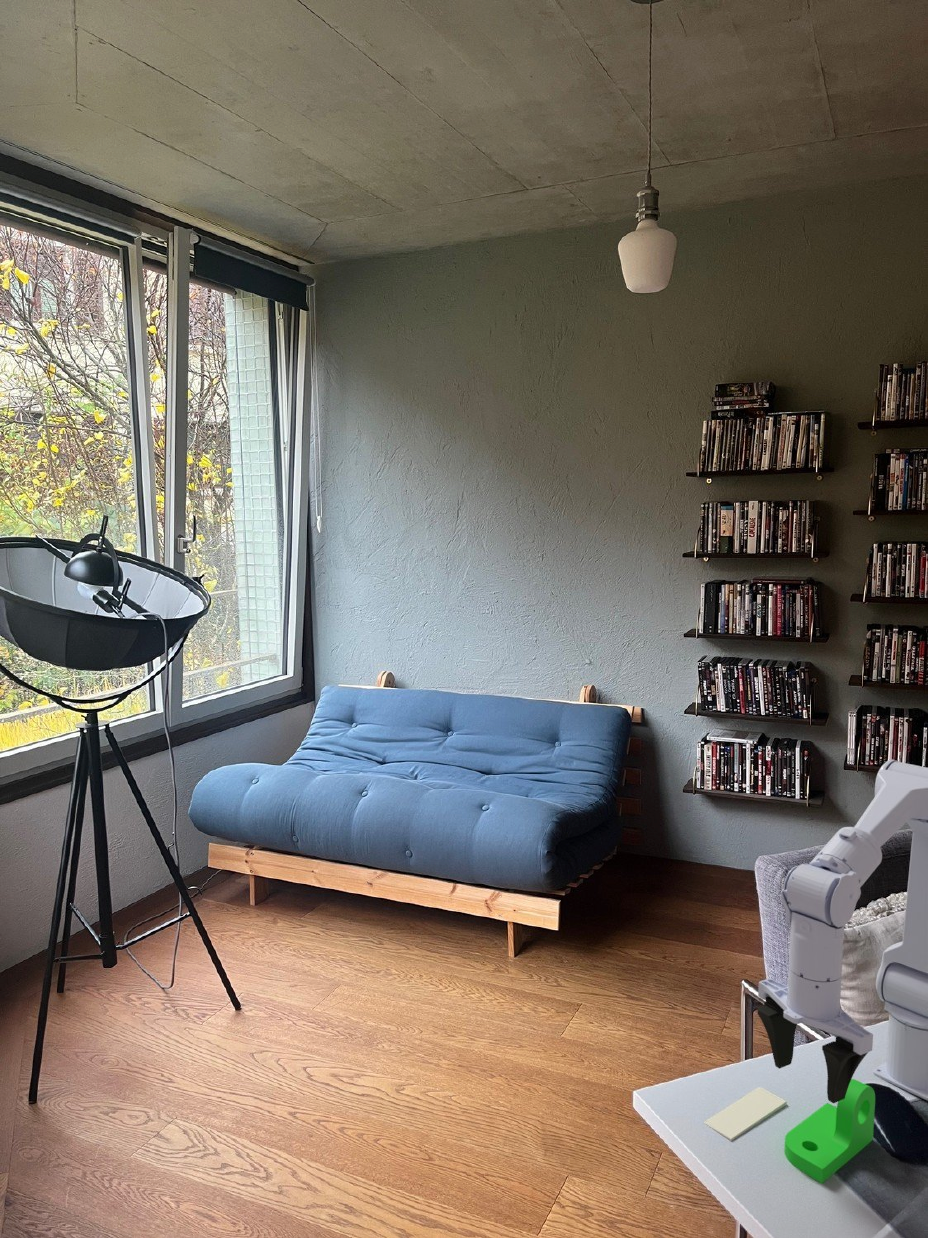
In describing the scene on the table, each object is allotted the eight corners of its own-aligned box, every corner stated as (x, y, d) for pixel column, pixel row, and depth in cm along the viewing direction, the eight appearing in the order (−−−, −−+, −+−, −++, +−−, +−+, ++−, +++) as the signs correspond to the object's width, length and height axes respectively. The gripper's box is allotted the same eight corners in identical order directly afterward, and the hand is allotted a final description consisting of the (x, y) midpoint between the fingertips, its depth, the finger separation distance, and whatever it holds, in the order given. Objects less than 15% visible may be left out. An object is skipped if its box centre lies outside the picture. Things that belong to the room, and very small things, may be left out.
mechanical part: (826, 1117, 119) (829, 1058, 118) (872, 1141, 114) (876, 1079, 114) (774, 1158, 111) (777, 1094, 110) (821, 1186, 107) (825, 1119, 106)
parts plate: (759, 1092, 124) (759, 1086, 123) (786, 1107, 120) (786, 1101, 120) (703, 1128, 116) (703, 1122, 116) (730, 1145, 113) (730, 1139, 113)
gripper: (742, 952, 112) (737, 1060, 114) (845, 1007, 100) (838, 1127, 101) (783, 940, 116) (778, 1044, 117) (887, 991, 103) (880, 1107, 105)
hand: (809, 1081), depth 109 cm, fingers open, 7 cm apart
